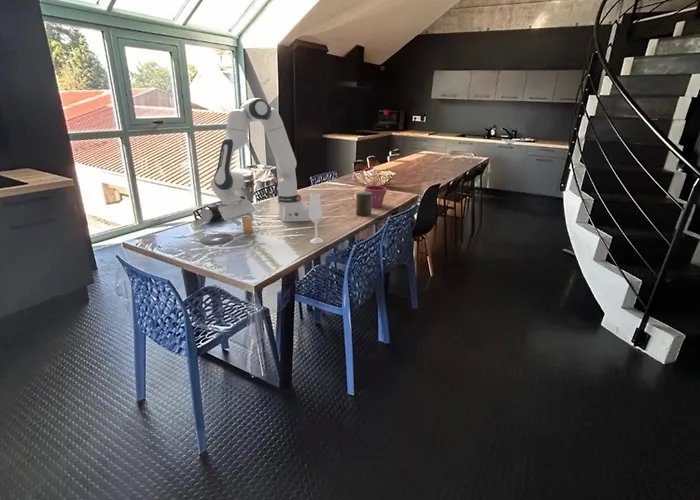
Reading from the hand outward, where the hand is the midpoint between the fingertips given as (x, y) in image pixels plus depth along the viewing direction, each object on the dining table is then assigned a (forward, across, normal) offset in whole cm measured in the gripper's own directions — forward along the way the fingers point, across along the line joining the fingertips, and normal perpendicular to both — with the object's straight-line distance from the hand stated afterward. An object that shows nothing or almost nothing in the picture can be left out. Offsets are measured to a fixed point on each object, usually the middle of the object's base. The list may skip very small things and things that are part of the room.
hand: (246, 222), depth 205 cm
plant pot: (+28, +84, -20) cm, 91 cm away
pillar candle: (+30, +64, -22) cm, 74 cm away
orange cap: (+4, 0, +3) cm, 5 cm away
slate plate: (0, -17, +7) cm, 18 cm away
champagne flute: (+33, +8, -25) cm, 42 cm away
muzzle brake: (-19, +12, +27) cm, 35 cm away
